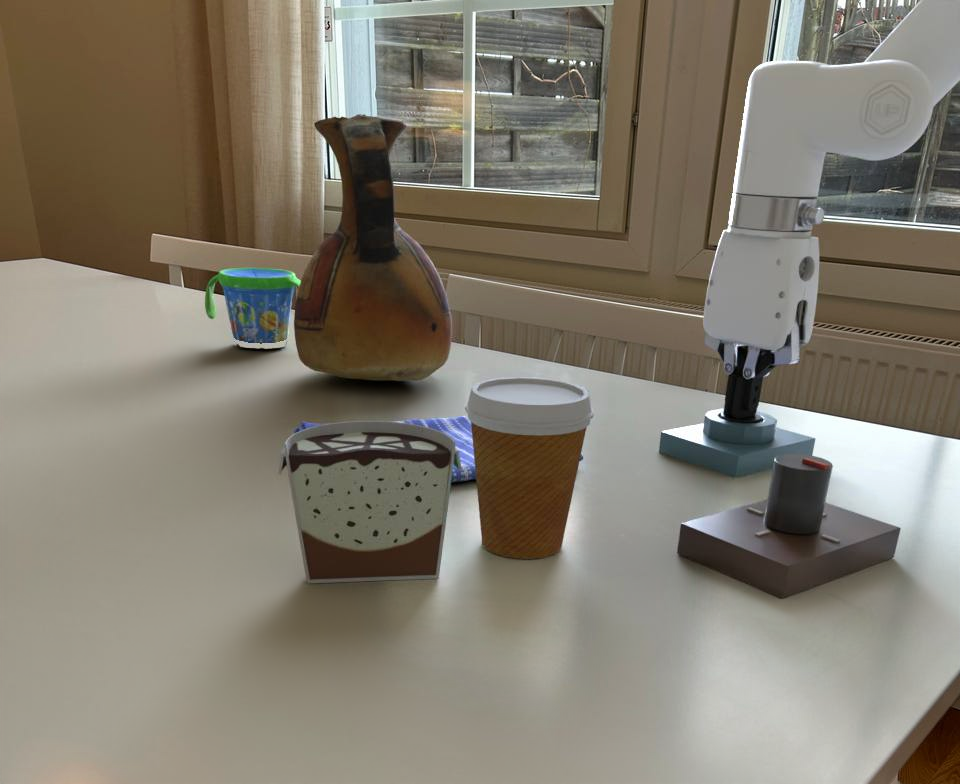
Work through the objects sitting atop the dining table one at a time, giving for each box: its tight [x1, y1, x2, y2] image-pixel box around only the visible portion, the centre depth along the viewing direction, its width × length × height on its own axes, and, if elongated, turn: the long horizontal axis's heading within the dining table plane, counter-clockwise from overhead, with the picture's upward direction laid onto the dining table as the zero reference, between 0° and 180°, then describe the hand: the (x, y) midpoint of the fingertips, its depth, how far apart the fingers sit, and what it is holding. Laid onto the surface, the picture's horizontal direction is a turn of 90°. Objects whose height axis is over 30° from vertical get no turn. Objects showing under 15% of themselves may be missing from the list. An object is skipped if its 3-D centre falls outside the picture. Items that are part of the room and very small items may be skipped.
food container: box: [278, 420, 462, 584], centre depth 70 cm, size 12×6×10 cm, turn 100°
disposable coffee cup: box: [464, 376, 595, 560], centre depth 74 cm, size 10×10×12 cm
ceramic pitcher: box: [293, 113, 453, 382], centre depth 119 cm, size 20×20×30 cm
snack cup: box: [204, 267, 301, 344], centre depth 140 cm, size 16×10×10 cm
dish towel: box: [293, 415, 584, 483], centre depth 95 cm, size 17×24×3 cm
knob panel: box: [676, 499, 902, 599], centre depth 76 cm, size 14×10×3 cm
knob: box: [764, 454, 834, 534], centre depth 74 cm, size 4×4×5 cm
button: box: [720, 413, 762, 423], centre depth 99 cm, size 4×4×2 cm
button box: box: [658, 408, 816, 479], centre depth 100 cm, size 12×10×4 cm
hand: (739, 415), depth 99 cm, fingers closed
